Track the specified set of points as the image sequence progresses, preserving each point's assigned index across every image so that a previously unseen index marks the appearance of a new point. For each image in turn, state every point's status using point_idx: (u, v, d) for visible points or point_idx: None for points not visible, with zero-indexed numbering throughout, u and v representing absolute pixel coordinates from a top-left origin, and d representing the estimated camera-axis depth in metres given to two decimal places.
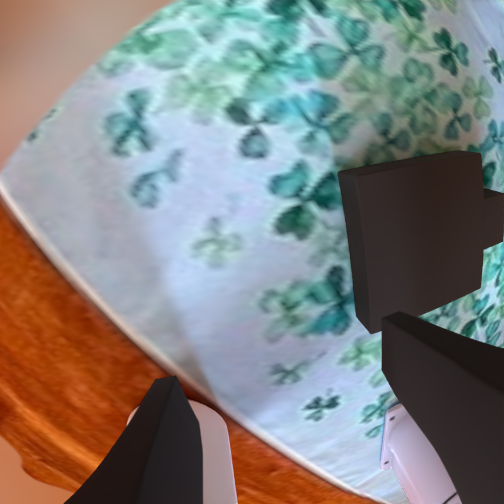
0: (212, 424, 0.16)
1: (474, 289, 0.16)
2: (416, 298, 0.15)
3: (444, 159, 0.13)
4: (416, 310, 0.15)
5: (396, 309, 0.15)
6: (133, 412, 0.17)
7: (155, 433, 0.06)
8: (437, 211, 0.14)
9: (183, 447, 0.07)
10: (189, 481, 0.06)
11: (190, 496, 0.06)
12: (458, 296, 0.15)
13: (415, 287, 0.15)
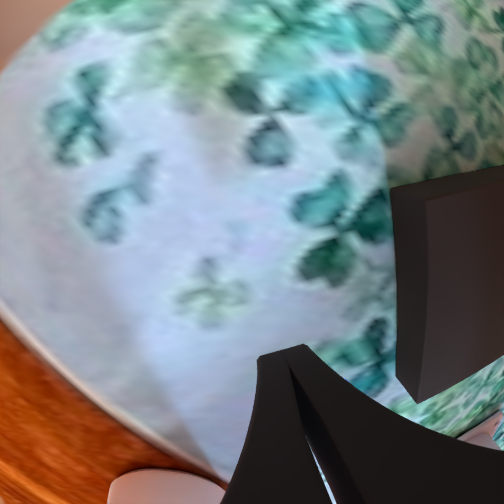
0: (211, 502, 0.11)
1: None
2: (475, 355, 0.10)
3: None
4: (471, 369, 0.10)
5: (450, 372, 0.10)
6: (115, 482, 0.12)
7: (297, 403, 0.06)
8: None
9: None
10: None
11: None
12: None
13: (476, 343, 0.10)
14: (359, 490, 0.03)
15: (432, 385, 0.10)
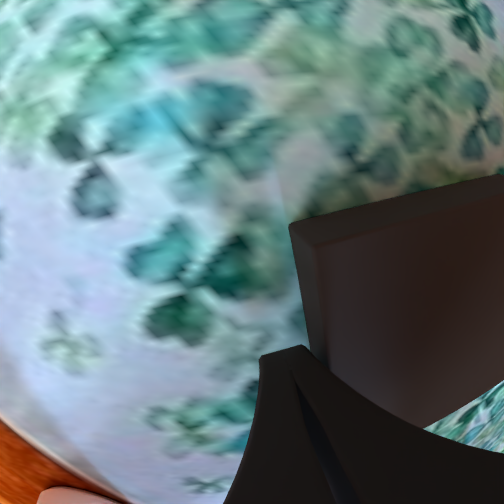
0: None
1: (499, 381, 0.09)
2: (415, 415, 0.09)
3: (487, 198, 0.07)
4: None
5: None
6: (40, 495, 0.10)
7: (299, 402, 0.06)
8: (467, 291, 0.07)
9: None
10: None
11: None
12: (476, 396, 0.09)
13: (415, 404, 0.08)
14: (355, 491, 0.03)
15: None
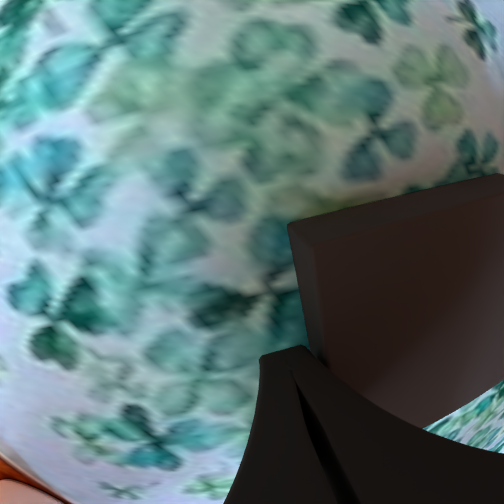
0: None
1: (499, 381, 0.09)
2: (414, 415, 0.09)
3: (486, 197, 0.07)
4: None
5: None
6: None
7: (300, 402, 0.06)
8: (466, 291, 0.07)
9: None
10: None
11: None
12: (476, 396, 0.09)
13: (414, 403, 0.08)
14: (355, 492, 0.03)
15: None
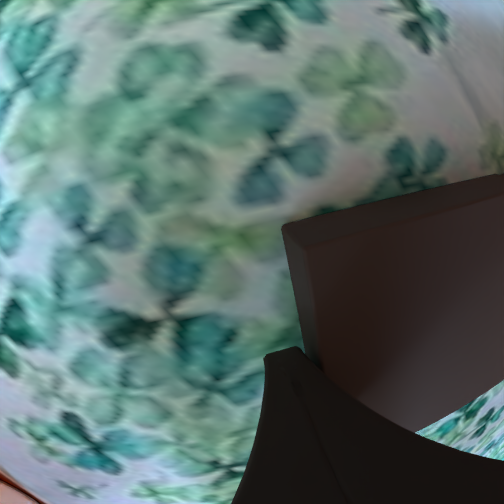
0: None
1: (497, 383, 0.09)
2: (410, 417, 0.09)
3: (482, 199, 0.07)
4: None
5: None
6: None
7: (306, 400, 0.06)
8: (462, 293, 0.07)
9: None
10: None
11: None
12: (473, 398, 0.09)
13: (410, 406, 0.08)
14: (344, 496, 0.03)
15: None
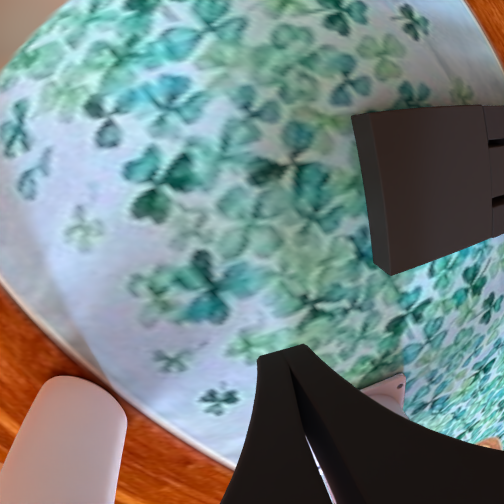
0: (100, 404, 0.16)
1: (486, 238, 0.16)
2: (432, 240, 0.15)
3: (448, 106, 0.13)
4: (432, 253, 0.15)
5: (413, 249, 0.15)
6: (41, 388, 0.16)
7: (297, 403, 0.06)
8: (446, 154, 0.14)
9: None
10: None
11: None
12: (471, 243, 0.15)
13: (430, 228, 0.15)
14: (359, 490, 0.03)
15: (400, 258, 0.15)
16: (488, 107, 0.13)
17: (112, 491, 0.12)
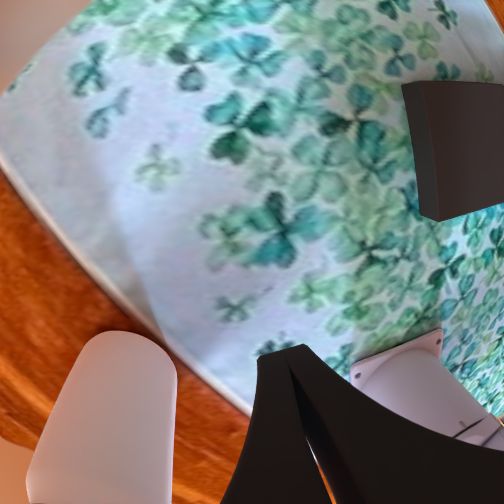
0: (155, 357, 0.17)
1: None
2: (470, 193, 0.16)
3: (478, 82, 0.14)
4: (470, 206, 0.16)
5: (456, 200, 0.16)
6: (83, 347, 0.17)
7: (297, 403, 0.06)
8: (478, 121, 0.15)
9: None
10: None
11: None
12: (499, 201, 0.16)
13: (468, 183, 0.16)
14: (359, 490, 0.03)
15: (446, 207, 0.16)
16: None
17: (172, 450, 0.13)
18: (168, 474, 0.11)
